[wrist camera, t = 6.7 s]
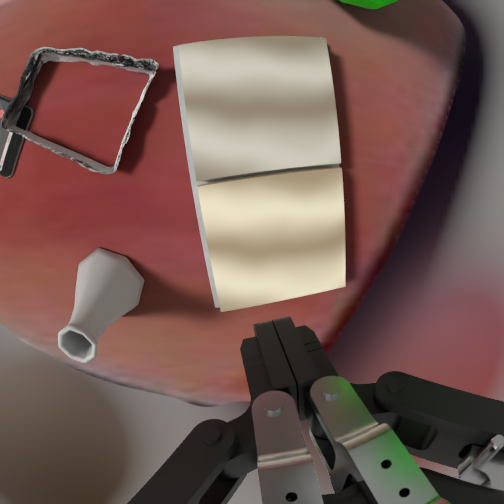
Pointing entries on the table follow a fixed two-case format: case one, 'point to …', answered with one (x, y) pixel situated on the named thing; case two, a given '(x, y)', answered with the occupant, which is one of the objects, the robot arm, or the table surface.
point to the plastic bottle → (369, 3)
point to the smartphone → (12, 138)
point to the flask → (99, 301)
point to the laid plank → (259, 104)
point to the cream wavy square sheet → (275, 235)
